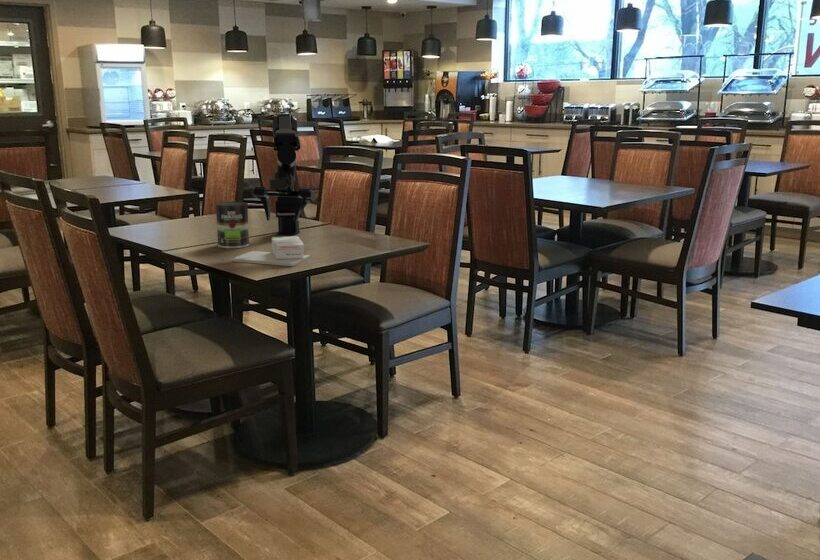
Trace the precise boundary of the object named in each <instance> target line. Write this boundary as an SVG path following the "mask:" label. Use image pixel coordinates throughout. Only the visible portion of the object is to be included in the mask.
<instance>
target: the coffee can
mask: <svg viewBox="0 0 820 560" xmlns="http://www.w3.org/2000/svg"><path fill="white" fill-rule="evenodd" d="M248 206H249V203H248V202H244V201H222V202H221V201H220V202H217V203H215V208H216V210H215V211H216V212H215V214H216V229H217V231H216V232H217V234H216V235H217V247H218V248H220V249H230V250H231V249H242V248H243V249H244V248H247V247H249V246H250V239H249V213H248Z"/></svg>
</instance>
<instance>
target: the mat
mask: <svg viewBox="0 0 820 560" xmlns="http://www.w3.org/2000/svg"><path fill="white" fill-rule="evenodd" d="M310 258H311V255H309V254H304V257H303V258H295V259H276V258H275V256H274V254H273V252H272V251H271V252H269V251H257V250H251V251H248V252H246V253H243V254H241V255H237V256H236V257H233V258H231V259H232V262H237V263H247V264H248V263H249V264H259V265H261V264H262V265H274V266H283V267H284V266H285V267H294V266H296V265H299V264H301V263H303V262H304V261H307V260H309V259H310Z"/></svg>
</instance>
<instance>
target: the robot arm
mask: <svg viewBox="0 0 820 560" xmlns="http://www.w3.org/2000/svg"><path fill="white" fill-rule="evenodd" d="M271 124H272V136H273V138H272V139H273V152H274V153H275V152H276V161H277V162H276V163H277V164H276V172H275V174H274V177H272V178H270V179H269V188H268V187H266V186H254V188H253V189H252V196H253V197H255V198H256V199H257V200H259V201H261V203H262V206H263V209H264V213H265V216H266V220H267V221H270V219H271V211H272V210H271V208H272V199H270V197H276V198H277V200H275V218H277V225H278V226H277V228H278V231H276V233H275V234H276V235H285V236H286V235H290V236H293V235H294V236H295V235H296V234H298V233H300V232H301V230H300V220H299V218H300V217H302V212H303V211H304V209H305V208H306V206H307V204H311V202H315V201H316V193H315V192H314V191H313V190H312V189H311V188H298V190H296V191H295V181H296V177H295V176H296V165H297V152H299V150H301V139H300V138H299V136H298V121H297V119H295V118H294V117H293V114H291V113H279V114H276V117H275V118H274V119H273V120H272V123H271Z"/></svg>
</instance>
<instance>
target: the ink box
mask: <svg viewBox="0 0 820 560" xmlns="http://www.w3.org/2000/svg"><path fill="white" fill-rule="evenodd" d="M270 239H271V240H270V241H271V252H272V253H273V254H274V256H275V258H276V259H295V258H303V257H304V255H305V254H304V245H305V243H304V242H303V241H302V240H301V239H300V237H299V236H297V235H296V236H295V235H294V236H293V235H290V236H272V237H271V238H270Z"/></svg>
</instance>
